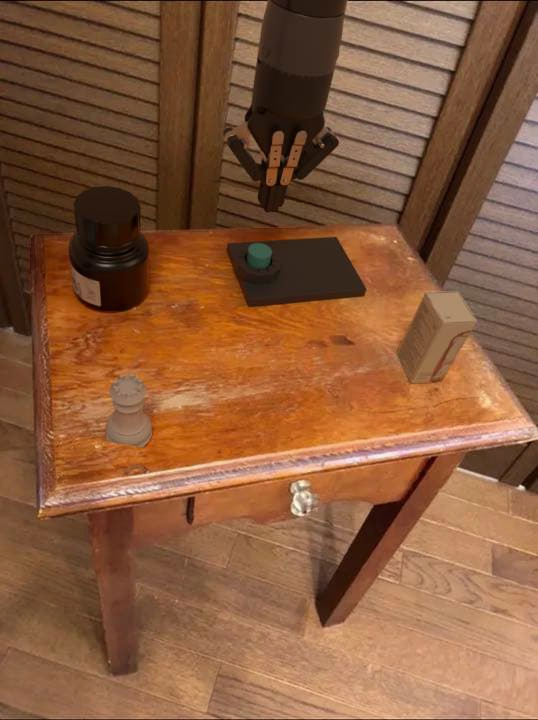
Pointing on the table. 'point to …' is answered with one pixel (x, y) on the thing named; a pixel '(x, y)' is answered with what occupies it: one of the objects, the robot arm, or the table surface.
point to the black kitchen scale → (296, 272)
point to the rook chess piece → (128, 413)
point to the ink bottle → (108, 250)
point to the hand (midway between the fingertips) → (269, 207)
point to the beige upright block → (435, 336)
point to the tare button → (259, 255)
